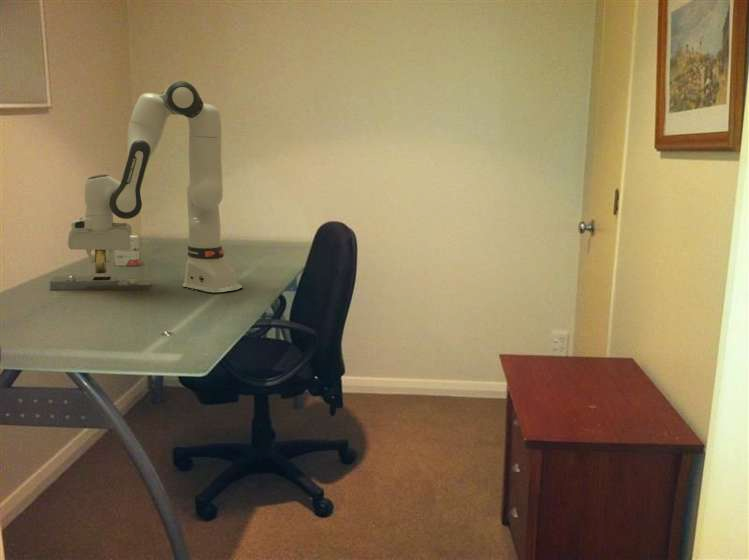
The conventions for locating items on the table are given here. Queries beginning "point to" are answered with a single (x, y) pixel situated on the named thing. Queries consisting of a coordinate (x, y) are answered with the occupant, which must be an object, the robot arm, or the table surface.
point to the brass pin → (100, 261)
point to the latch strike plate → (96, 283)
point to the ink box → (128, 254)
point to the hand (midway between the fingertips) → (100, 262)
